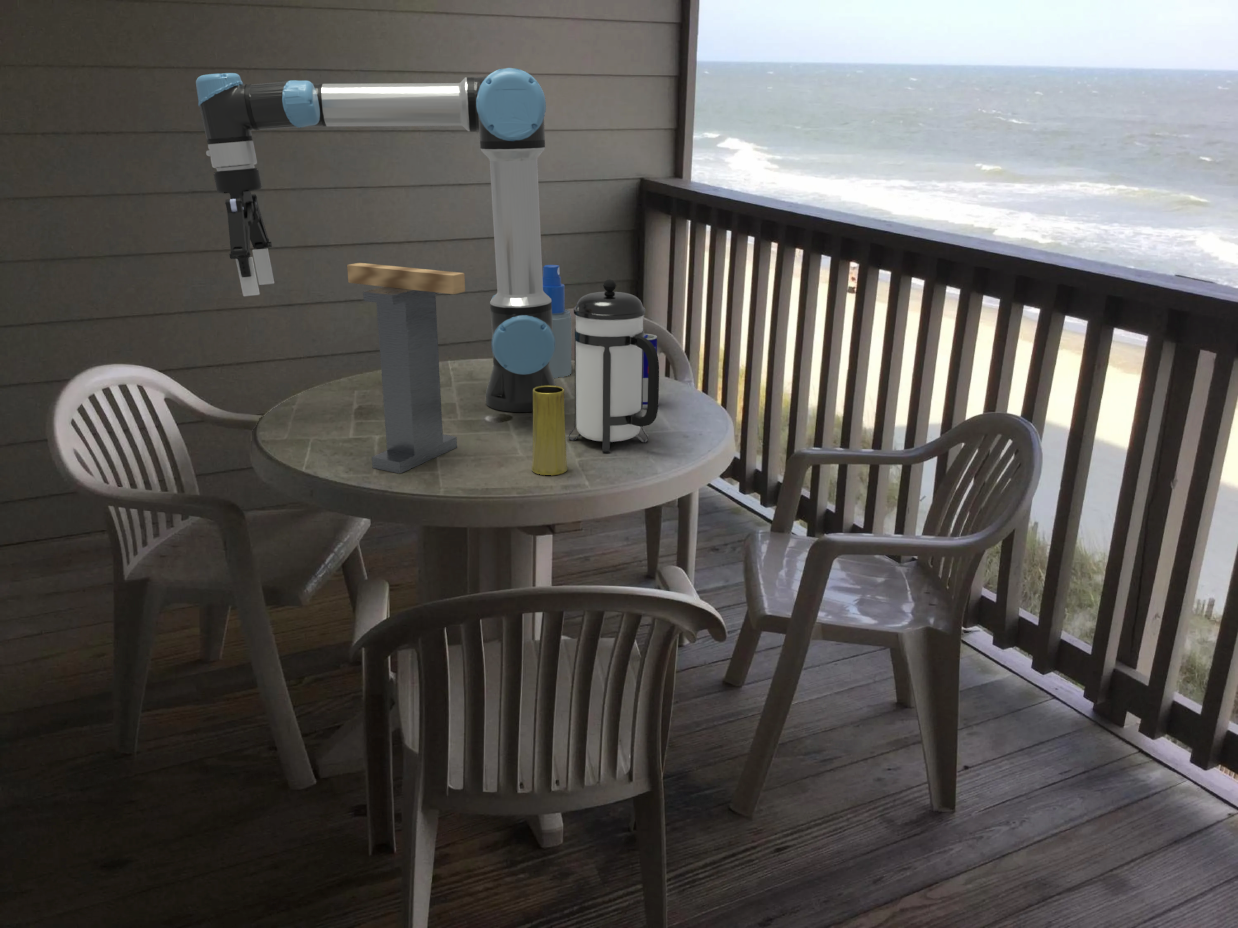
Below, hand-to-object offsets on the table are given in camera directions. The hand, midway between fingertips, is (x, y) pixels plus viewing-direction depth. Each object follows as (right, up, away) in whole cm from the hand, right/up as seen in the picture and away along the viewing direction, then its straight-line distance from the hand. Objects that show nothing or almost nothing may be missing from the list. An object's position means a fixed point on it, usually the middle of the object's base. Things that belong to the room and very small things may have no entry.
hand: (259, 289), depth 181 cm
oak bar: (+30, -2, -16) cm, 34 cm away
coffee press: (+65, -28, +4) cm, 71 cm away
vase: (+54, -33, -11) cm, 64 cm away
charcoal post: (+30, -31, -6) cm, 43 cm away
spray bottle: (+50, -11, +51) cm, 72 cm away
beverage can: (+71, -20, +26) cm, 78 cm away
